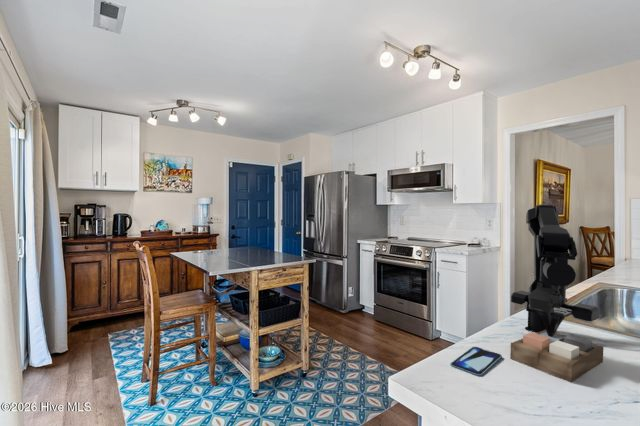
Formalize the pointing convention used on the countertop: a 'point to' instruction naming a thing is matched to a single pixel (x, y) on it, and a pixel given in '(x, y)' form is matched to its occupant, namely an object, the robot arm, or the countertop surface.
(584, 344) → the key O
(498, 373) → the countertop surface
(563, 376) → the wooden sorting tray
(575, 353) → the key
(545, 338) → the peach block
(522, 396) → the countertop surface
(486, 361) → the smartphone
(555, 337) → the key
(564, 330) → the countertop surface
